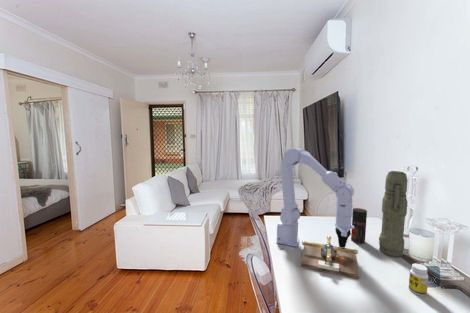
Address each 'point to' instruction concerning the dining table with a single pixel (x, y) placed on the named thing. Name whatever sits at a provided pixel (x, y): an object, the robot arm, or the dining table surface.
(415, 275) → the supplement bottle
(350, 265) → the stand board
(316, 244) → the capstan
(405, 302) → the dining table surface
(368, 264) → the dining table surface
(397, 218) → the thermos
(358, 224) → the deodorant
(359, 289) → the dining table surface
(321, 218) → the dining table surface
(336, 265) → the frame
